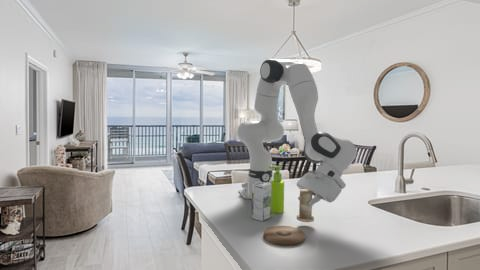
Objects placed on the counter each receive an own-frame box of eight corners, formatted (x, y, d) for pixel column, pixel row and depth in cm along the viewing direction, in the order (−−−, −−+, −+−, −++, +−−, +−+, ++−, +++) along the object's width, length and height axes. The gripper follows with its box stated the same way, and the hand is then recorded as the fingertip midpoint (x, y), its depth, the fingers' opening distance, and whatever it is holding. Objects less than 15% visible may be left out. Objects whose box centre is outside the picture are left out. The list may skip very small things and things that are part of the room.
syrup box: (259, 215, 127) (259, 181, 126) (271, 218, 123) (271, 183, 122) (251, 218, 122) (251, 183, 121) (263, 222, 119) (263, 185, 118)
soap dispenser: (265, 210, 133) (266, 165, 132) (279, 208, 136) (280, 164, 135) (271, 214, 128) (272, 167, 127) (286, 212, 130) (286, 166, 129)
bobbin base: (256, 232, 108) (256, 228, 108) (290, 227, 113) (290, 223, 113) (275, 248, 95) (275, 244, 95) (313, 242, 100) (313, 237, 100)
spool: (293, 217, 116) (294, 189, 115) (307, 215, 119) (308, 187, 118) (302, 223, 110) (303, 193, 109) (317, 221, 113) (318, 192, 112)
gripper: (306, 165, 125) (285, 190, 122) (339, 175, 106) (315, 205, 103) (315, 175, 127) (294, 200, 124) (349, 186, 108) (325, 216, 105)
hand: (304, 202), depth 114 cm, fingers closed on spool, 5 cm apart
